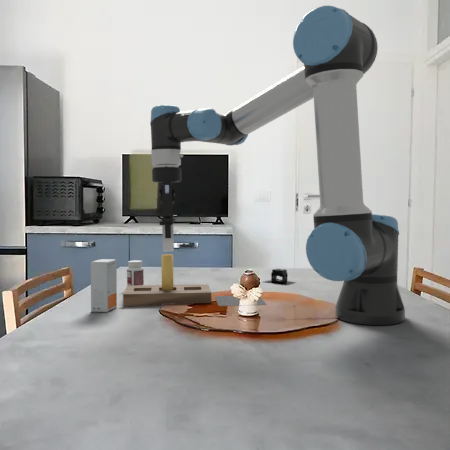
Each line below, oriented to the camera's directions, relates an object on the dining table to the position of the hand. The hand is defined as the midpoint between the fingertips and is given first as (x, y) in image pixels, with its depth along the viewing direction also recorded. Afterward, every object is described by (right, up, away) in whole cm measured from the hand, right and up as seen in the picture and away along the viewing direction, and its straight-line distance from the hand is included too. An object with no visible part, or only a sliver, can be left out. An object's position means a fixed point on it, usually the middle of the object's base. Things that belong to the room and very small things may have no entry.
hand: (168, 249), depth 138 cm
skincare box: (-14, -14, -10) cm, 23 cm away
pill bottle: (-11, -13, +16) cm, 23 cm away
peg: (0, -14, +1) cm, 14 cm away
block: (0, -14, +1) cm, 14 cm away
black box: (+32, -13, +29) cm, 44 cm away
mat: (+18, -14, -1) cm, 23 cm away
